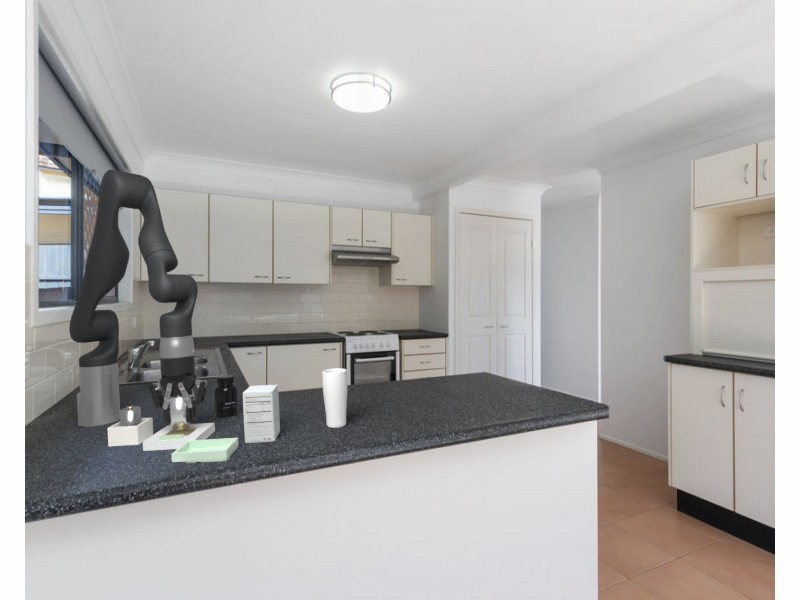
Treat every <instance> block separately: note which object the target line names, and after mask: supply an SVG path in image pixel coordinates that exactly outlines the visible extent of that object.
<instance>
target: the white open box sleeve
mask: <svg viewBox="0 0 800 600" xmlns="http://www.w3.org/2000/svg"><path fill="white" fill-rule="evenodd" d="M153 418H154V417H141V423H140V424H138V425H137V426H121V427H120V421H118V422H117V423H114V424H112V425H110V426H109V427H107V441H108V442H107V444H108V445H107V446H108V447H119V446H120V447H121V446H123V447H124V446H125V447H126V446H137V445H138V446H139V445H141V444H143V441H145V440H146V439H148V438H149V437H151V436H152V435H154V422H153Z"/></svg>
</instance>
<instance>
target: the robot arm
mask: <svg viewBox="0 0 800 600" xmlns="http://www.w3.org/2000/svg"><path fill="white" fill-rule="evenodd" d="M120 208H125V209H133V210H138V211H139V212H140V213H141V215H142V217H143V223H142V226H141V228H140V230H139V233H138V238H137V243H138V248H139V251H140V253H141V256H142V259H143V261H144V263H145V265H146V269H147V278H148V279H147V280H148V292H149V294H150V296H151V298H152V299H153V300H155V301H156V302H157V303H161V304H171V303H173V304H174V303H176V304H175V307H174V309H173V310H171V311H170V312H166V313H163V314H161V315H160V316H159V336H160V337H159V338H160V339H159V341H160V342H159V364H160V365H159V367H160V375H161V376H160V377H161V378H160V379H159V381H158V382H153V383H150V384H148V386H147V387H148V390H149V393H150V396H151V398H152V402H153V403H154V407H156V408H160V409H162V410H163V419H164V422H165V423H166V424H167V425H170V406H169V399H170V397H171V396H176V395H180V396H183V399H184V400H185V401H186V404H187V406H188V408H187V422H188V423H190V424H193V422H194V421H195V420H196V419H197V410H196V409H197V408H196V407H197V406H199V405H200V404H202V403H204V401H205V397H206V392H207V390H208V385H209V380H208V379H205V380H202V379H198V378H197V376H196V364H195V363H196V362H195V360H196V359H195V344H194V338H193V325H192V324H193V323H192V319H193V315H194V309H195V306H196V301H197V298H198V294H199V293H198V291H199V289H198V288H199V287H198V284H197V281H196V280H195V279H194V277H193V276H192V275H189V274H182V273H181V274H176V273H174V274H173V273H171V274H170V272H172V271H174V270H176V268H177V267H178V265H179V261H178V260H179V259H178V257H177V254H176V252H175V251H174V248H173V246H172V244H171V242H170V240H169V238H168V235H167V233H166V229H165V226H164V221H163V218H162V217H163V216H162V212H161V208H160V205H159V200H158V198H157V193H156V190H155V186H154V185H153V183H152V182H151V180H150V178H148V177H146V176H144V175H141V174H137V173H133V172H128V171H123V170H118V169H108V170H107V171H105V172H104V174H103V176H102V178H101V182H100V187H99V192H98V201H97V208H96V209H97V211H96V219H95V223H94V224H95V225H94V228H93V233H92V237H91V242H90V246H89V248H88V253H87V258H86V260H85V261H86V263H85V267H84V268H85V269H84V274H83V277H82V282H81V287H80V290H79V294H78V296H77V299H76V301H75V305H74V308H73V311H72V314H71V316H70V321H69V335H70V338H71V340H72V341H73V342H76V343H80V344H81V343H82V344H86V343H92V342H93V343H96V342H98V345H97V346H96V347H95V348H94V349H92V350H91V351H89V352H87V353H85V354H82V355H81V356H79V358H78V371H79V373H78V374H79V389H80V390H79V392H77V394H76V405H77V425H78V427H84V428H88V427H96V426H102V425H103V426H104V425H107V424H112V423H114V422H117V421H120V410H121V399H120V383H119V381H120V380H119V363H118V361H119V359H118V357H119V352H120V351H119V350H120V348H119V347H120V346H119V343H120V342H119V341H120V339H119V335H120V333H119V332H120V324H119V319H118V318H119V317H118V316H117V314H116V312H115V311H114V310H112V309H97V307H98V305H99V304H100V302H101V300H102V299H103V298H105V296H107V294H109V293H110V291H112V290H114V288H116V286H117V285H118V284H119V283H121V281H122V280H123V279H124V277H125V275H126V271H127V267H128V265H129V261H130V260H129V259H130V249H129V247H128V245H127V243H126V240H125V239H124V237H123V234H122V232H121V230H120V228H119V224H118V218H119V217H118V215H119V211H120ZM195 385H196V388H197V392H196V397H195V391H194V390H193V388H194V386H195ZM162 389H163V390H164V391H165V394H164V395H163V393H162Z"/></svg>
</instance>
